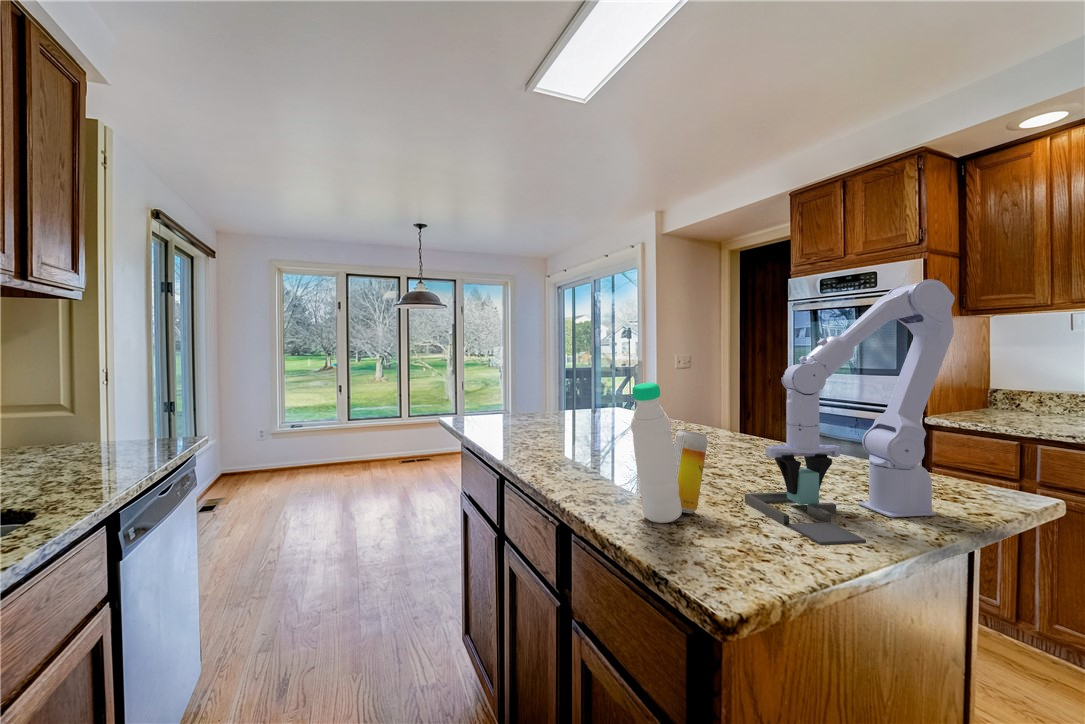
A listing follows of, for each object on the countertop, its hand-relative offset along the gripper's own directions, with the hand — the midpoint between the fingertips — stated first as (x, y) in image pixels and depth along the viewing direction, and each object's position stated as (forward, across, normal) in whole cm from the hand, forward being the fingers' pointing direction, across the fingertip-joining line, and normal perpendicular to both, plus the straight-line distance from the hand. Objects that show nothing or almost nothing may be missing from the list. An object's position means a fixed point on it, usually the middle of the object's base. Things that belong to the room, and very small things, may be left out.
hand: (802, 492), depth 91 cm
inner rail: (+3, -1, +6) cm, 7 cm away
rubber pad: (+3, +5, +14) cm, 15 cm away
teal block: (+2, 0, 0) cm, 2 cm away
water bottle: (+2, +30, +3) cm, 30 cm away
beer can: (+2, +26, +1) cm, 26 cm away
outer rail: (+3, +3, +2) cm, 5 cm away
